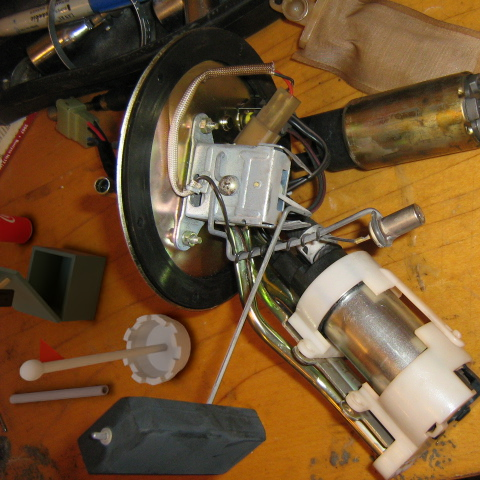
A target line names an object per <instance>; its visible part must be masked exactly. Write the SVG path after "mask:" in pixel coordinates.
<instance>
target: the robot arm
mask: <svg viewBox="0 0 480 480" xmlns="http://www.w3.org/2000/svg"><path fill="white" fill-rule="evenodd" d="M14 292H15V291H14V290H13V289H0V308H11V307H13V306H12V303H13V298H14Z"/></svg>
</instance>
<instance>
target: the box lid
mask: <svg viewBox="0 0 480 480" xmlns="http://www.w3.org/2000/svg"><path fill="white" fill-rule="evenodd" d="M0 289H13V290H14V291H15V292H14V298H13V303H12V306H11V307H12V308H14V310H15V311H17V312H20V313H23V314H26V315H29V316H32V317H36V318H39V319H41V320H44V321H49V322H52V323H54V324H55V323H56V324H58V325H59V324H60V323H62V322H61V319H60V318H59V317H58V316H57V315H56V314H55V313H54V311H53V310H52V309H51V308H50V307H49V306H48V305H47V303H46V302H45V301H44V300H43V299H42V298H41V296H40V295H39V294H38V293H37V292H36V291H35V290H34V288H33V287H32V286H31V285H30V284H29V283H28V282H27V280H26V278H25V277H24V276H23V275H22V273H21V272H20V271H19V270H16V269H11V268H7V267H5V266H0Z"/></svg>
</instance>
